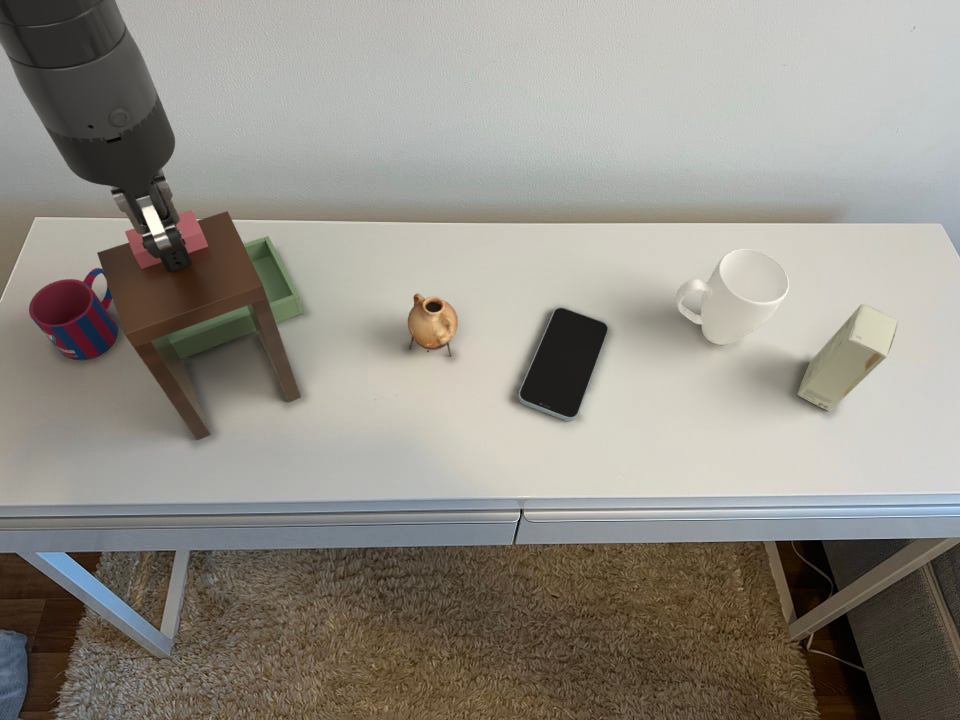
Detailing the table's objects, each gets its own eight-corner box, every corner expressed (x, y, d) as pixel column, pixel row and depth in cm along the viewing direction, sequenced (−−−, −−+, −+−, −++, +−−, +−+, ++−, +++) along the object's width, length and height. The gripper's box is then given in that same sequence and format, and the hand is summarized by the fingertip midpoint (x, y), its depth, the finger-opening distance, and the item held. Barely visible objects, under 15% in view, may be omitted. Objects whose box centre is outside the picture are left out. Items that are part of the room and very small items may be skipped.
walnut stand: (197, 440, 74) (124, 334, 57) (172, 371, 79) (96, 252, 61) (301, 397, 78) (263, 284, 60) (271, 333, 82) (227, 210, 65)
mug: (740, 305, 89) (778, 247, 80) (757, 358, 85) (799, 304, 75) (652, 305, 88) (679, 247, 79) (665, 359, 84) (695, 304, 74)
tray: (172, 362, 79) (162, 346, 76) (148, 296, 84) (138, 279, 81) (303, 313, 84) (299, 296, 81) (273, 253, 89) (268, 235, 86)
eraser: (141, 269, 60) (133, 254, 59) (133, 246, 62) (124, 231, 60) (208, 246, 62) (202, 231, 60) (198, 224, 63) (192, 209, 62)
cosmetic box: (829, 413, 81) (887, 360, 71) (795, 395, 82) (847, 340, 72) (843, 375, 84) (901, 319, 74) (810, 358, 85) (862, 300, 75)
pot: (410, 323, 85) (405, 363, 81) (410, 278, 79) (404, 319, 75) (457, 327, 85) (454, 367, 81) (461, 283, 79) (457, 324, 75)
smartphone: (611, 324, 85) (576, 421, 77) (609, 328, 86) (574, 424, 78) (556, 304, 86) (515, 398, 78) (554, 308, 87) (514, 402, 79)
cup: (45, 345, 79) (14, 311, 74) (106, 287, 84) (82, 251, 79) (89, 369, 78) (62, 336, 72) (149, 308, 83) (128, 273, 77)
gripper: (19, 55, 47) (117, 227, 62) (56, 176, 41) (155, 335, 56) (129, 30, 49) (199, 202, 64) (180, 142, 43) (244, 303, 58)
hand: (178, 264), depth 60 cm, fingers closed
